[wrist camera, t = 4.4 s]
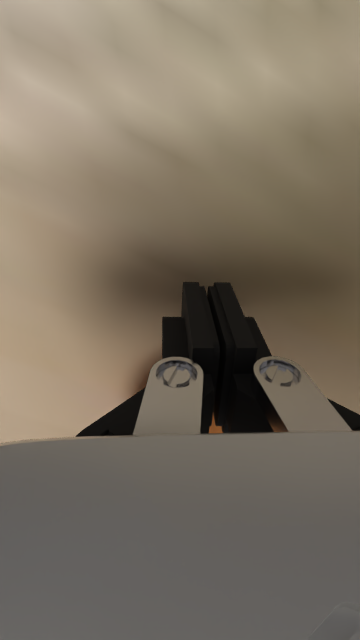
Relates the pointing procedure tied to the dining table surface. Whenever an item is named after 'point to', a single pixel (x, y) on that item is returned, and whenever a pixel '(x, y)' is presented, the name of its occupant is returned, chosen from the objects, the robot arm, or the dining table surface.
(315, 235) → the dining table surface
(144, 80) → the dining table surface
